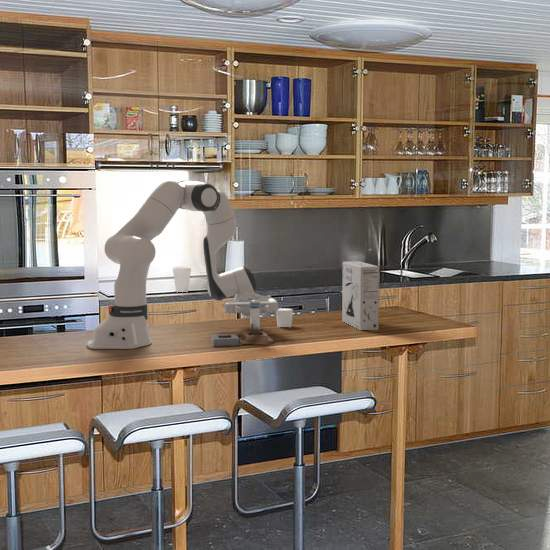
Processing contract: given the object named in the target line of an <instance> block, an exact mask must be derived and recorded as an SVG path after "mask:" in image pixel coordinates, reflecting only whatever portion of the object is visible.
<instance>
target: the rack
mask: <svg viewBox="0 0 550 550" xmlns="http://www.w3.org/2000/svg"><path fill="white" fill-rule="evenodd" d="M238 338H239V346H243V345H242V344H253V345H273V344H274V343H275V341H274V340H273V339H272V338H271V336H269V335H268V334H267V333H266V331H264V330H263V331H260V335H250V331H242V336H240V337H239V336H238Z"/></svg>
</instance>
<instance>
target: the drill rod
mask: <svg viewBox="0 0 550 550" xmlns="http://www.w3.org/2000/svg"><path fill="white" fill-rule="evenodd" d="M260 315H261V313H260V302H259V300H250V316H249V320H250V321H249V324H250V326H249V328H250V329H249V332H250V335H260V330H261V327H260V323H261V322H260Z"/></svg>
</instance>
